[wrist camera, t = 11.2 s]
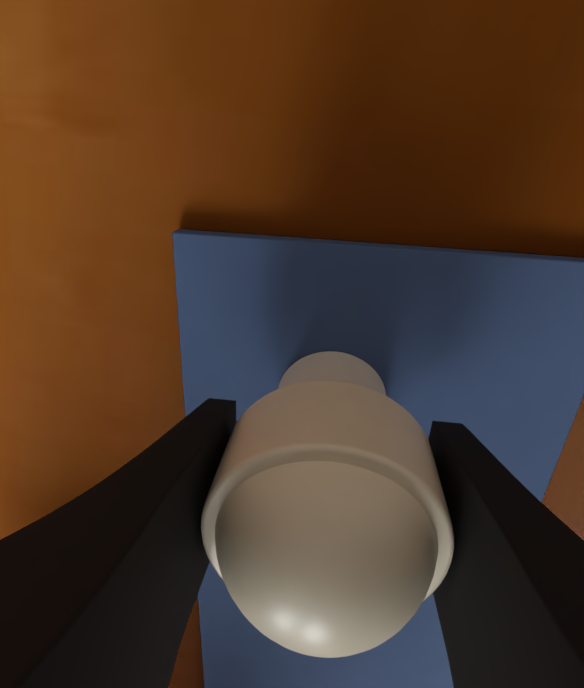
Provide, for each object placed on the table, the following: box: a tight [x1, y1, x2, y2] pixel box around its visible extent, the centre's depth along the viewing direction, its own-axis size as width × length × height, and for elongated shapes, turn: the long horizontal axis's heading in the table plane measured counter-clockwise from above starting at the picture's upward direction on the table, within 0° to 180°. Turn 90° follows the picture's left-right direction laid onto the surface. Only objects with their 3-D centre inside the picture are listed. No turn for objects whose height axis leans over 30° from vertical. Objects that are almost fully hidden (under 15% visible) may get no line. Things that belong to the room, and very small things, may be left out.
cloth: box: [172, 229, 584, 688], centre depth 14 cm, size 20×10×1 cm, turn 177°
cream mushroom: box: [201, 351, 454, 658], centre depth 9 cm, size 4×4×6 cm
